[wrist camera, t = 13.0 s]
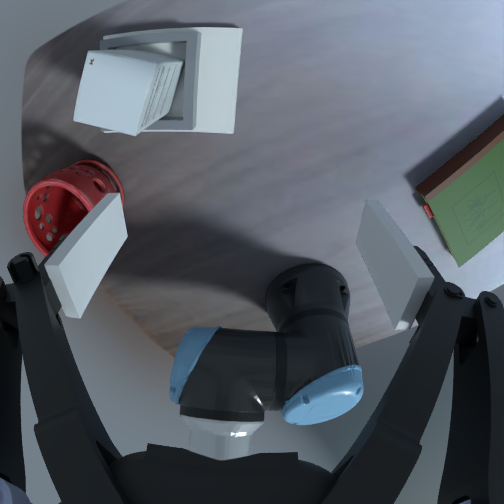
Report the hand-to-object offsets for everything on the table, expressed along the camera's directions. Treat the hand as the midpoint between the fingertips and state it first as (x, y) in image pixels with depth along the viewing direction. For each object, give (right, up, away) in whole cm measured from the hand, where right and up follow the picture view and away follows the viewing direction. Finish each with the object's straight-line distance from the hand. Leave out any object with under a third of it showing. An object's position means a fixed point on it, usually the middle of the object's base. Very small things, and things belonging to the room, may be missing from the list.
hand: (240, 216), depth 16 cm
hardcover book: (+41, +10, +26) cm, 49 cm away
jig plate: (-10, +20, +18) cm, 29 cm away
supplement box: (-12, +20, +17) cm, 28 cm away
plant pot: (-24, +8, +27) cm, 37 cm away
